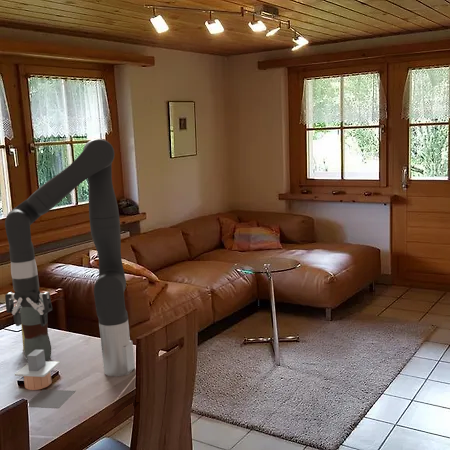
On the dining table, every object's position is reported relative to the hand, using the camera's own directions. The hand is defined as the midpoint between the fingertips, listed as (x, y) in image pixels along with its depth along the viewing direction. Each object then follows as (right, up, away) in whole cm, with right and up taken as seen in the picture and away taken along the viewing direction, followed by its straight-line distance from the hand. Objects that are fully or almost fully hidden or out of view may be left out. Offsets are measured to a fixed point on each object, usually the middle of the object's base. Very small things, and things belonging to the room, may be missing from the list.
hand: (31, 325), depth 182 cm
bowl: (+1, -19, +3) cm, 20 cm away
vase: (-11, -15, +35) cm, 40 cm away
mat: (+8, -21, -7) cm, 23 cm away
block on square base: (+1, -14, +3) cm, 15 cm away
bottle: (-6, -16, +25) cm, 30 cm away
